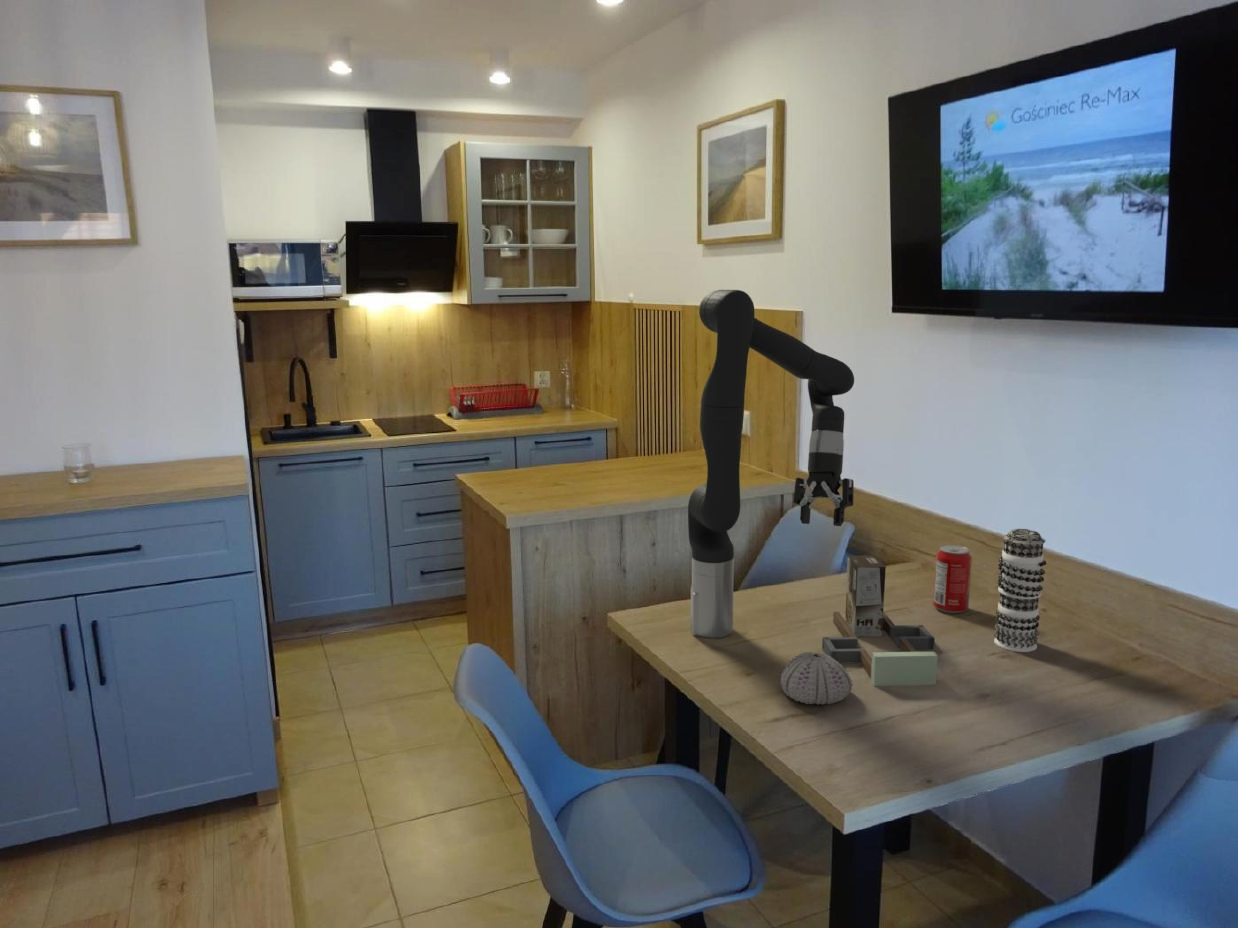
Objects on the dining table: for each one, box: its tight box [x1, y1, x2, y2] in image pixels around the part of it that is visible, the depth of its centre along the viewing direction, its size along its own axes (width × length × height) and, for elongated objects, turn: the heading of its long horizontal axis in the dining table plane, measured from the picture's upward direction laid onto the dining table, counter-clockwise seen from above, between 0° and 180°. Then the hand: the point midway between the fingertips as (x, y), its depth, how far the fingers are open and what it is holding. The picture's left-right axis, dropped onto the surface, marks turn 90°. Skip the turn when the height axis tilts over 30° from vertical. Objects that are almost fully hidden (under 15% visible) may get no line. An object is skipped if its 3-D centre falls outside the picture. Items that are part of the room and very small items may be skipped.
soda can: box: [932, 544, 973, 615], centre depth 208 cm, size 8×8×15 cm
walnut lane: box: [832, 611, 918, 679], centre depth 187 cm, size 11×32×2 cm, turn 1°
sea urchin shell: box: [780, 651, 854, 706], centre depth 167 cm, size 13×14×8 cm
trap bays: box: [821, 624, 935, 664], centre depth 187 cm, size 23×13×2 cm, turn 90°
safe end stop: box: [870, 651, 938, 687], centre depth 171 cm, size 12×2×6 cm, turn 90°
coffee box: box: [844, 554, 887, 638], centre depth 197 cm, size 9×6×16 cm
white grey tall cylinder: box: [993, 528, 1047, 653], centre depth 187 cm, size 9×9×25 cm
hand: (821, 524), depth 196 cm, fingers open, 8 cm apart
